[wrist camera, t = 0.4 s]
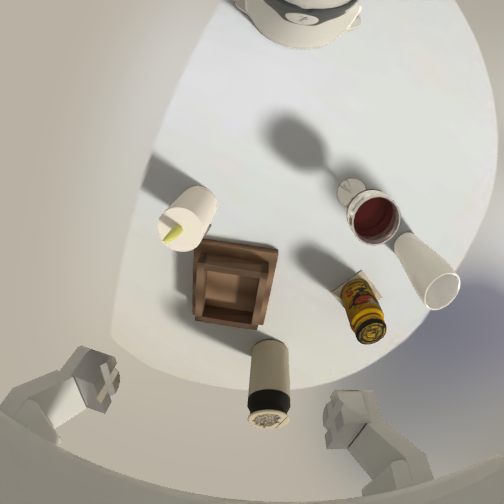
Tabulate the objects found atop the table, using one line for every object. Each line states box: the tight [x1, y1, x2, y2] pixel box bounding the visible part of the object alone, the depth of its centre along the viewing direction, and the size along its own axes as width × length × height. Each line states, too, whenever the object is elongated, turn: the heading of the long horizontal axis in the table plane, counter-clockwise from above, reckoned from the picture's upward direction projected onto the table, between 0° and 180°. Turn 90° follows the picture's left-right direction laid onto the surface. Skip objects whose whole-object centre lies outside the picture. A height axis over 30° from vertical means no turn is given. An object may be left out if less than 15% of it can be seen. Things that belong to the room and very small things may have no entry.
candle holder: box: [193, 239, 278, 330], centre depth 50 cm, size 16×14×5 cm
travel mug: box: [248, 340, 290, 429], centre depth 52 cm, size 8×8×18 cm
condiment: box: [331, 271, 386, 344], centre depth 47 cm, size 7×8×12 cm
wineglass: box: [337, 178, 400, 246], centre depth 37 cm, size 7×7×12 cm
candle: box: [157, 186, 217, 252], centre depth 39 cm, size 6×6×15 cm
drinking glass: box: [394, 232, 460, 310], centre depth 40 cm, size 7×7×15 cm
